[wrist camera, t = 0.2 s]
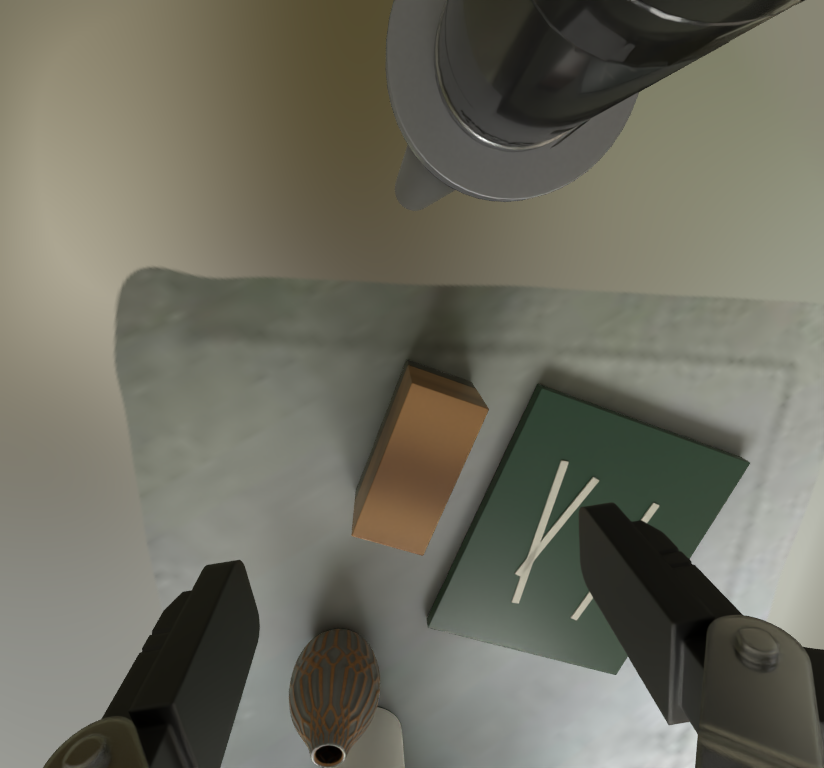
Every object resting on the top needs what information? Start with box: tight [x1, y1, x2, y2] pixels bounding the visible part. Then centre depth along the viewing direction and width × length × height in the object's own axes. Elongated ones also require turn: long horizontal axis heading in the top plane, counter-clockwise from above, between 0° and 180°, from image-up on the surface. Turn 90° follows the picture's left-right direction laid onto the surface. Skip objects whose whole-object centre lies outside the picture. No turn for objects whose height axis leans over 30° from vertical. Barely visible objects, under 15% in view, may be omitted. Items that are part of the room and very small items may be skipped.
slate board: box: [427, 384, 750, 675], centre depth 38 cm, size 22×18×1 cm
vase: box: [289, 629, 380, 768], centre depth 36 cm, size 7×7×9 cm
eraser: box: [352, 360, 489, 556], centre depth 32 cm, size 11×5×6 cm, turn 159°
